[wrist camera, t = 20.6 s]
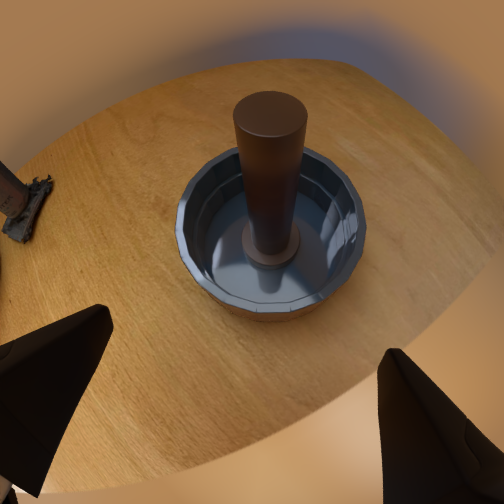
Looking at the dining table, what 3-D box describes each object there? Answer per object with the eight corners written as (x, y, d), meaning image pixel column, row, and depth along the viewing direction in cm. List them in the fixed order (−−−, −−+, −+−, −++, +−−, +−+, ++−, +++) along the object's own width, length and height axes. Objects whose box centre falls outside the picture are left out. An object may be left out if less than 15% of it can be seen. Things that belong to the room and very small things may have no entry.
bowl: (368, 229, 22) (392, 196, 17) (291, 354, 19) (299, 355, 14) (253, 162, 25) (249, 120, 20) (167, 263, 22) (139, 238, 17)
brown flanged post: (281, 280, 21) (297, 174, 8) (231, 252, 22) (187, 129, 9) (308, 233, 22) (344, 102, 9) (260, 209, 23) (251, 71, 10)
